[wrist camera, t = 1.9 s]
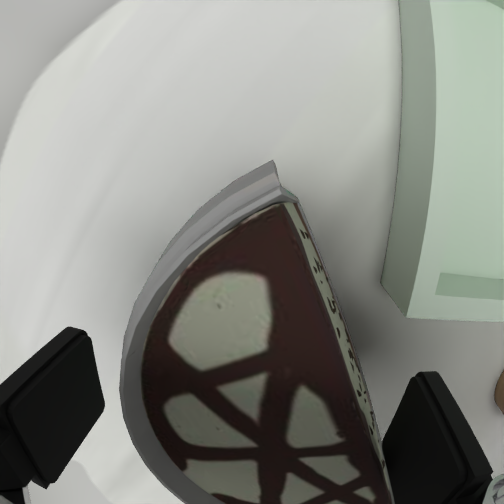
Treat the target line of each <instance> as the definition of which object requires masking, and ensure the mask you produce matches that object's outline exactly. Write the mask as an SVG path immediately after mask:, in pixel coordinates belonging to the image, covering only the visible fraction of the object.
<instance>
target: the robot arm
mask: <svg viewBox="0 0 504 504" xmlns="http://www.w3.org/2000/svg"><path fill="white" fill-rule="evenodd" d="M104 407H105V401H104V397H103V393H102V389H101V385H100V380H99V376H98V371H97V366H96V361H95V356H94V351H93V345H92V340H91V338H90V337H89V336H88V335H87V333H86V331H84V330H81V329H77V328H73V327H67V328H65V329H64V330H63V331H61V332H60V333H59V334H58V335H57V336H55V337H54V338H53V339H52V340H51V341H50V342H48V343H47V344H46V345H45V346H44V347H42V348H41V349H40V350H39V351H38V352H37V353H35V354H34V355H33V356H32V357H31V358H30V359H29V360H27V361H26V362H25V363H24V364H23V365H22V366H21V367H19V368H18V369H17V370H16V371H15V372H14V373H13V374H12V375H10V376H9V377H8V378H7V379H6V380H5V381H4V382H3V383H2V384H0V504H31V499H30V494H29V489H28V483H29V482H30V481H31V480H32V481H33V482H34V483H36V484H38V485H39V486H41V487H43V488H45V489H47V488H48V486H49V484H50V483H55V482H56V481H57V479H58V478H59V476H60V475H61V473H62V472H63V470H64V469H65V467H66V466H67V464H68V462H69V461H70V460H71V458H72V457H73V455H74V454H75V452H76V451H77V449H78V448H79V446H80V445H81V443H82V442H83V440H84V439H85V437H86V436H87V434H88V433H89V432H90V430H91V429H92V427H93V426H94V424H95V423H96V421H97V420H98V418H99V417H100V416H101V414H102V413H103V411H104ZM382 451H383V455H384V459H385V463H386V467H387V472H388V476H389V480H390V484H391V489H392V493H393V497H394V502H395V504H504V474H502V475H499V476H497V477H495V478H494V479H492V477H491V474H492V473H493V470H492V468H491V466H490V464H489V462H488V460H487V458H486V456H485V454H484V452H483V450H482V448H481V446H480V444H479V442H478V441H477V439H476V437H475V435H474V433H473V431H472V429H471V428H470V426H469V424H468V422H467V420H466V419H465V417H464V415H463V413H462V412H461V410H460V408H459V406H458V405H457V403H456V401H455V399H454V398H453V396H452V394H451V393H450V391H449V389H448V388H447V386H446V384H445V383H444V381H443V379H442V378H441V376H440V375H439V373H438V372H436V371H432V372H418V373H417V374H416V376H415V377H412V378H411V379H410V381H409V384H408V386H407V388H406V391H405V393H404V395H403V398H402V400H401V402H400V405H399V407H398V409H397V411H396V413H395V416H394V418H393V420H392V422H391V424H390V426H389V428H388V430H387V432H386V434H385V436H384V438H383V441H382Z"/></svg>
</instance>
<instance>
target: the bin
mask: <svg viewBox="0 0 504 504" xmlns="http://www.w3.org/2000/svg"><path fill="white" fill-rule="evenodd" d="M399 10H400V24H401V43H402V114H401V134H400V148H399V161H398V172H397V181H396V190H395V198H394V206H393V214H392V221H391V227H390V234H389V240H388V246H387V252H386V257H385V263H384V268H383V273H382V278H381V284H382V286H383V287H384V288H385V290H386V291H387V292H388V294H389V295H390V296H391V298H392V299H393V300H394V302H395V303H396V305H397V306H398V307H399V309H400V310H401V312H402V313H403V314H404V316H405V317H406V318H417V319H435V320H456V321H484V322H504V0H399Z"/></svg>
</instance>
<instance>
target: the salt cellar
mask: <svg viewBox="0 0 504 504" xmlns="http://www.w3.org/2000/svg"><path fill="white" fill-rule="evenodd" d="M494 396H495V402H496V404H497V405H498V407H499V408H500V410H501V411H502V412H503V414H504V371H503V372H502V374H501V376H500V378H499V380H498V382H497V385H496V389H495V395H494Z"/></svg>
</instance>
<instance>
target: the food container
mask: <svg viewBox="0 0 504 504" xmlns="http://www.w3.org/2000/svg"><path fill="white" fill-rule="evenodd" d="M119 392H120V399H121V406H122V412H123V418H124V421H125V424H126V427H127V429H128V432H129V435H130V437H131V440H132V443H133V445H134V446H135V448H136V450H137V451H138V453H139V455H140V456H141V458H142V460H143V461H144V463H145V465H146V466H147V467H148V468H149V470H150V471H151V472H152V473H153V474H154V475H155V477H156V478H157V479H158V480H159V481H160V482H161V483H162V485H163V486H165V487H166V488H167V489H168V490H169V491H170V492H171V493H173V494H174V495H175V496H176V497H177V498H178V499H180V500H181V501H182V502H184V503H185V504H395V502H394V497H393V493H392V489H391V484H390V480H389V476H388V472H387V467H386V463H385V459H384V455H383V451H382V441H381V437H380V433H379V429H378V426H377V422H376V418H375V414H374V411H373V407H372V403H371V400H370V396H369V393H368V389H367V385H366V382H365V379H364V375H363V372H362V368H361V365H360V362H359V359H358V356H357V353H356V350H355V347H354V344H353V341H352V338H351V335H350V333H349V330H348V327H347V324H346V321H345V318H344V316H343V313H342V310H341V307H340V305H339V302H338V299H337V296H336V294H335V291H334V288H333V286H332V283H331V280H330V278H329V275H328V272H327V270H326V267H325V265H324V262H323V260H322V257H321V254H320V252H319V249H318V247H317V244H316V242H315V239H314V237H313V234H312V232H311V229H310V227H309V225H308V222H307V220H306V217H305V215H304V212H303V210H302V208H301V205H300V203H299V201H298V198H297V197H296V196H294V195H293V194H292V193H290V192H289V191H287V190H286V189H284V188H283V187H282V186H281V184H280V182H279V179H278V174H277V168H276V165H275V163H274V161H273V160H271V161H269V162H268V163H266V164H264V165H262V166H260V167H258V168H257V169H255V170H253V171H251V172H249V173H248V174H246V175H244V176H242V177H240V178H239V179H237V180H235V181H233V182H232V183H231V184H230V185H228V186H227V187H226V188H224V189H223V190H222V191H221V192H219V193H218V194H217V195H216V196H214V197H213V198H212V199H211V200H209V201H208V202H207V203H206V204H204V205H203V206H202V207H201V208H200V209H198V210H197V211H196V213H195V214H194V215H193V216H192V217H191V218H190V219H189V221H188V222H187V223H186V224H185V225H184V226H183V227H182V229H181V230H180V231H179V232H178V233H177V234H176V236H175V237H174V238H173V239H172V240H171V241H170V243H169V245H168V246H167V248H166V249H165V251H164V253H163V254H162V256H161V258H160V259H159V261H158V263H157V264H156V266H155V268H154V270H153V271H152V273H151V275H150V277H149V278H148V280H147V282H146V284H145V285H144V287H143V289H142V291H141V292H140V294H139V296H138V298H137V300H136V301H135V304H134V307H133V310H132V313H131V316H130V319H129V322H128V326H127V329H126V332H125V335H124V342H123V352H122V359H121V371H120V386H119Z"/></svg>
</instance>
